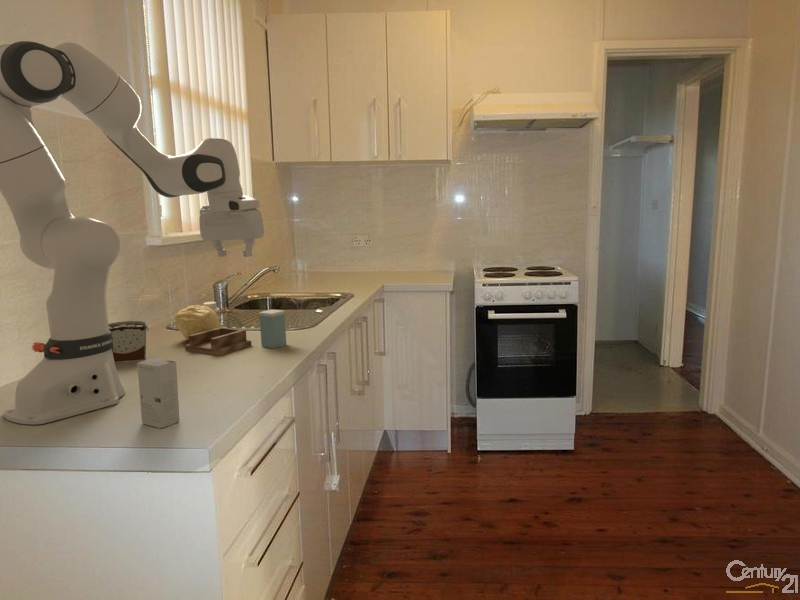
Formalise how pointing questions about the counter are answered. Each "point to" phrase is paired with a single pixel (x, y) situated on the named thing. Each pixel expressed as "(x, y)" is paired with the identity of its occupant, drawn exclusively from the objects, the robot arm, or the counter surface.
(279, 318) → the tin
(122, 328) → the food container
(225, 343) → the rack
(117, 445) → the counter surface
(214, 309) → the supplement bottle
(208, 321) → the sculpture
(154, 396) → the skincare box
